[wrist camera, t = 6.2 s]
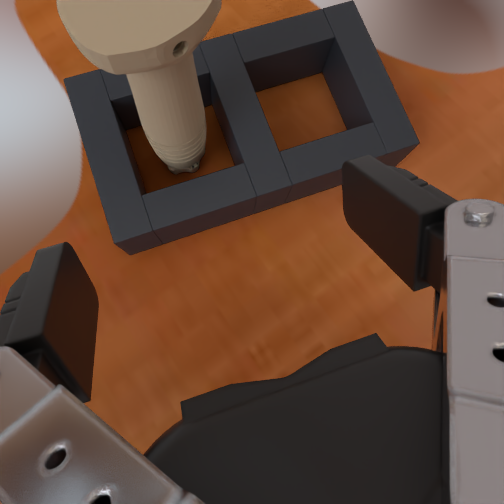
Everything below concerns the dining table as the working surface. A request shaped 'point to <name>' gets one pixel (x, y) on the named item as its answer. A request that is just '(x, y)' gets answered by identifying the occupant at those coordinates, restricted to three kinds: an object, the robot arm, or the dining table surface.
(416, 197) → the robot arm
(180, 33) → the handle
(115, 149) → the tool holder
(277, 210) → the dining table surface
